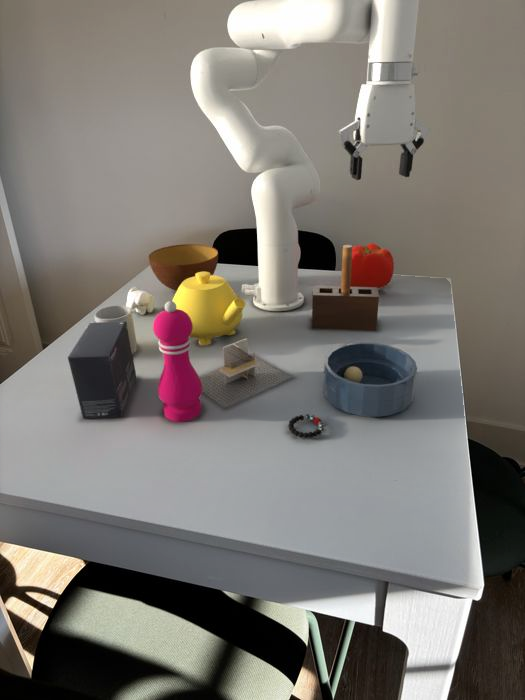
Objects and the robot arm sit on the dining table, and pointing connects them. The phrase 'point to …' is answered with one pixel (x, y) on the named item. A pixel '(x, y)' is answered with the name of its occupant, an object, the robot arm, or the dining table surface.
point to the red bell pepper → (371, 266)
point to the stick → (346, 269)
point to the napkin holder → (240, 376)
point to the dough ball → (353, 374)
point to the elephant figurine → (140, 301)
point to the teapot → (209, 306)
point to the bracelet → (310, 434)
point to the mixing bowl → (370, 379)
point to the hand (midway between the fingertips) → (380, 177)
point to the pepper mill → (177, 365)
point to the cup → (118, 314)
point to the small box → (103, 369)
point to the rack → (345, 308)
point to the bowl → (182, 263)
